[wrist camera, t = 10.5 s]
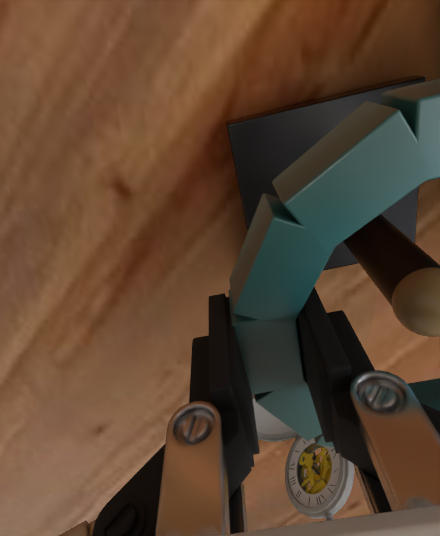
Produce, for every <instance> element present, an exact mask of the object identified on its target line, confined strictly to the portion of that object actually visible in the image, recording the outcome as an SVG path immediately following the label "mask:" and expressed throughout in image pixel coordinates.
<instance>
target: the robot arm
mask: <svg viewBox="0 0 440 536" xmlns="http://www.w3.org/2000/svg"><path fill="white" fill-rule="evenodd" d="M296 323H297V330H298V337H299V344H300V351H301V358H302V365H303V369H304V372H305V376H306V379H307V382H308V387H309V391H310V394H311V397H312V401H313V404H314V407H315V411H316V414H317V417H318V420H319V424H320V427H321V430H322V434H323V437H324V440H325V442H326V443H328V442H332V443H333V446H334V449H335V452H336V453H340V454H341V456H342V457H343V458H345V459H346V460H348V461H350V462H351V463H353V464H354V467H355V471H356V474H357V476H358V479H359V482H360V485H361V487H362V490H363V493H364V496H365V499H366V501H367V504H368V507H369V510H370V513H371V515H364V516H356V517H349V518H342V519H335V520H328V521H320V522H313V523H306V524H299V525H292V526H285V527H278V528H270V529H263V530H256V531H249V532H248V531H247V519H246V507H245V495H244V485H243V481H244V479H245V478H246V477H247V475H248V474H249V473H250V471H251V467H253V466H254V459H253V454H259V444H258V436H257V429H256V421H255V414H254V406H253V398H252V393H251V389H250V386H249V382H248V378H247V374H246V370H245V366H244V363H243V359H242V355H241V351H240V347H239V343H238V340H237V336H236V332H235V328H234V327H232V324H231V312H230V301H229V297H226V296H225V293H224V294H219V295H214V296H209V336H204V337H198V338H194V339H193V343H192V361H191V379H190V398H189V403H188V404H186V405H184V406H182V407H181V408H179V409H178V410H177V411H176V412H175V413H174V414H173V416H172V418H171V419H170V421H169V424H168V428H167V435H166V444H165V445H164V446H163V447H162V448H161V449H160V450H159V451H158V452H157V453H156V454H155V455H154V456H153V457H152V458H151V459H150V460H149V461H148V462H147V463H146V464H145V465H144V466H143V467H142V468H141V469H140V470H139V471H138V472H137V473H136V474H135V475H134V476H133V477H132V478H131V479H130V480H129V482H128V483H127V484H126V485H125V486H124V487H123V488H122V489H121V490H120V491H119V492H118V493H117V494H116V495H115V496H114V497H113V498H112V499H111V500H110V501H109V502H108V503H107V504H106V505H105V507H104V508H103V509H102V511H101V512H100V514H99V516H98V518H97V519H96V520H94V521H93V522H91V523H88V522H87V521H84V522H82V523H81V524H79V525H77V526H75V527H74V528H72V529H70V530H68V531H66V532H65V533H63V534H61V535H59V536H440V411H438V410H436V409H434V408H431V407H429V406H427V405H424V404H422V403H420V402H419V401H418V400H417V398H416V396H415V395H414V393H413V391H412V390H411V388H410V387H409V386H408V385H407V383H406V382H405V381H404V380H402V379H401V378H399V377H398V376H396V375H394V374H391V373H389V372H385V371H379V370H378V371H375V369H374V367H373V365H372V364H371V362H370V360H369V358H368V356H367V354H366V352H365V350H364V349H363V347H362V345H361V343H360V341H359V339H358V337H357V335H356V334H355V332H354V330H353V328H352V326H351V324H350V322H349V321H348V319H347V317H346V315H345V313H344V312H343V311H342V310H340V311H335V312H330V313H326V311H325V309H324V307H323V304H322V302H321V300H320V298H319V296H318V294H317V291H316V289H315V287H313V289H312V291H311V293H310V295H309V297H308V299H307V300H306V302H305V304H304V306H303V308H302V310H301V312H300V314H298V317H297V319H296Z"/></svg>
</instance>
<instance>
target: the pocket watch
mask: <svg viewBox="0 0 440 536" xmlns="http://www.w3.org/2000/svg"><path fill="white" fill-rule="evenodd" d="M252 398H253V406H254V414H255V421H256V429H257V436H258V439H259V440H263V441H268V442H277V441H285V440H288V439H291V438H294V437H295V438H296V440H295V442H294V443H293V445H292V447H291V449H290V452H289V454H288V457H287V461H286V467H285V484H286V488H287V493H288V495H289V498H290V500H291V502H292V504H293V505H294V506H295V508H296V509H297V510H298V511H299V512H300V513H302V514H304V515H306V516H308V517H311V518H316V519H319V518H326V519H327V521H328V520H333V516H332V515H333V514H335V513H336V512H337V511H339V510H340V509H341V508H342V506H343V505H344V504H345V502H346V500H347V498H348V496H349V494H350V491H351V488H352V485H353V478H354V465H353V463H351V462H350V461H348V460H346V459H345V458H343V457H342V456H341V454H340V453H336V452H335V449H334V448H333V447H327V446H321V445H317V444H316V443H315V440H314V438H313V439H311V440H309V441H307V440H305V439H304V438H303V437H301V436H300V435H299V434H297V433H296V432H295V431H293V430H292V429H291V428H289V427H288V426H287V425H285V424H284V423H283V422H281V421H280V420H279V419H277V418H276V417H275V416H273V415H272V414H271V413H269V412H268V411H267V410H266V409H264V408H263V407H262V406H260V405H259V404H258V403H256V402H255V396H254V394H253V395H252ZM323 447H324V449H322V448H323ZM318 448H321V450H322V452H321V453H319V454H318V455H316V456H315V450H316V449H318ZM325 450H326V451H327V453H326V455H325V454H324V452H325ZM313 452H314V453H313ZM328 452H329V454H330V455H328V456H327V454H328ZM319 456H322V457H323V459H322V461H321V463H320V461H319V460H320V457H319ZM318 462H319V463H320V465H319V467H318V465H317V463H318ZM305 469H308V471H307V472H308V474H307V473H306V475H307V476H306V477H305ZM308 480H309V481H310V482H309V481H308ZM307 481H308V483H310V484H311V485H313V486H311V485H310V486H311V487H312V488H311V489H310V490H309V487H310V486H309V487H308V485H309V484H308V483H306V482H307Z"/></svg>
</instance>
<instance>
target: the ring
mask: <svg viewBox="0 0 440 536" xmlns="http://www.w3.org/2000/svg"><path fill="white" fill-rule="evenodd" d="M436 178H440V78H439V79H435V80H431V81H426V82H422V83H418V84H414V85H410V86H405V87H401V88H397V89H393V90H389V91H385V92H383V93H382V105H380V104H376V103H373V102H369V101H365V102H364V103H363V104H362V105H360V106H359V107H358V108H357V109H356V110H355V111H353V112H352V113H351V114H350V115H349V116H348V117H346V118H345V119H344V120H343V121H342V122H340V123H339V124H338V125H337V126H336V127H335V128H333V129H332V130H331V131H330V132H329V133H328V134H326V135H325V136H324V137H323V138H322V139H321V140H319V141H318V142H317V143H316V144H315V145H314V146H312V147H311V148H310V149H309V150H308V151H307V152H305V153H304V154H303V155H302V156H301V157H300V158H298V159H297V160H296V161H295V162H294V163H293V164H291V165H290V166H289V167H288V168H287V169H286V170H284V171H283V172H282V173H281V174H280V175H279V176H277V177H276V178H275V179H274V180H273V181H272V184H273V186H274V188H275V190H276V192H277V194H278V196H279V197H280V198H278V197H275V196H272V195H268V194H263V195H262V197H261V199H260V202H259V205H258V207H257V210H256V212H255V215H254V217H253V220H252V223H251V225H250V228H249V230H248V233H247V235H246V238H245V241H244V243H243V246H242V248H241V251H240V254H239V256H238V259H237V261H236V264H235V266H234V269H233V272H232V274H231V277H230V290H229V301H230V312H231V324H232V327H234V328H235V332H236V336H237V340H238V343H239V347H240V351H241V355H242V359H243V363H244V366H245V370H246V374H247V378H248V382H249V386H250V389H251V393H252V394H254V396H255V402H256V403H258V404H259V405H260V406H262V407H263V408H264V409H266V410H267V411H268V412H269V413H271V414H272V415H273V416H275V417H276V418H277V419H279V420H280V421H281V422H283V423H284V424H285V425H287V426H288V427H289V428H291V429H292V430H293V431H295V432H296V433H297V434H299V435H300V436H301V437H303V438H304V439H305V440H307V441H309V440H311V439H313V438H314V440H315V443H316V444H317V445H321V446H327V447H333V448H334V446H333V443H332V442H328V443H326V442H325V440H324V437H323V434H322V430H321V427H320V424H319V420H318V417H317V414H316V411H315V407H314V404H313V401H312V397H311V394H310V391H309V387H308V382H307V379H306V376H305V372H304V369H303V365H302V358H301V351H300V344H299V337H298V330H297V323H296V319H297V317H298V314H300V312H301V310H302V308H303V306H304V304H305V302H306V300H307V299H308V297H309V295H310V293H311V291H312V289H313V287H314V285H315V284H316V282H317V280H318V278H319V276H320V274H321V272H322V271H323V269H324V267H325V265H326V263H327V261H328V259H329V257H330V256H331V254H332V252H333V250H334V248H335V246H337V245H338V244H339V243H341V242H342V241H344V240H345V239H346V238H348V237H349V236H350V235H352V234H353V233H355V232H356V231H357V230H359V229H360V228H362V227H363V226H364V225H366V224H367V223H368V222H370V221H371V220H373V219H374V218H375V217H377V216H378V215H379V214H381V213H382V212H384V211H385V210H386V209H388V208H389V207H390V206H392V205H393V204H395V203H396V202H397V201H399V200H400V199H402V198H403V197H404V196H406V195H407V194H408V193H410V192H411V191H413V190H414V189H415V188H417V187H418V186H419V185H421V184H422V183H424V182H425V181H427V180H432V179H436ZM407 385H408V386H409V387H410V388H411V390H412V391H413V393H414V395H415V396H416V398H417V400H418V401H419V402H420V403H422V404H424V405H427V406H429V407H431V408H434V409H436V410H438V411H440V378H439V379H433V380H427V381H421V382H415V383H409V384H407Z"/></svg>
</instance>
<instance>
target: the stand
mask: <svg viewBox="0 0 440 536" xmlns="http://www.w3.org/2000/svg"><path fill="white" fill-rule="evenodd" d="M422 82H425V77H421V76H411V77H407V78H403V79H398V80H394V81H390V82H386V83H382V84H378V85H374V86H370V87H366V88H361V89H357V90H353V91H349V92H345V93H341V94H337V95H333V96H329V97H325V98H320V99H316V100H312V101H308V102H304V103H300V104H296V105H292V106H288V107H283V108H279V109H275V110H271V111H267V112H263V113H259V114H255V115H251V116H246V117H242V118H238V119H234V120H230V121H227V122H226V125H227V130H228V135H229V140H230V145H231V150H232V155H233V160H234V165H235V170H236V175H237V180H238V185H239V190H240V195H241V200H242V205H243V210H244V215H245V220H246V225H247V230H249V228H250V225H251V223H252V220H253V217H254V215H255V212H256V210H257V207H258V205H259V202H260V199H261V197H262V195H263V194H268V195H272V196H275V197H278V198H280V197H279V196H278V194H277V192H276V190H275V188H274V186H273V184H272V181H273V180H274V179H275V178H276V177H277V176H279V175H280V174H281V173H282V172H283V171H284V170H286V169H287V168H288V167H289V166H290V165H291V164H293V163H294V162H295V161H296V160H297V159H298V158H300V157H301V156H302V155H303V154H304V153H305V152H307V151H308V150H309V149H310V148H311V147H312V146H314V145H315V144H316V143H317V142H318V141H319V140H321V139H322V138H323V137H324V136H325V135H326V134H328V133H329V132H330V131H331V130H332V129H333V128H335V127H336V126H337V125H338V124H339V123H340V122H342V121H343V120H344V119H345V118H346V117H348V116H349V115H350V114H351V113H352V112H353V111H355V110H356V109H357V108H358V107H359V106H360V105H362V104H363V103H364V102H365V101H369V102H373V103H376V104H380V105H382V93H383V92H385V91H389V90H393V89H397V88H401V87H405V86H410V85H414V84H418V83H422ZM417 201H418V187H417V188H415V189H414V190H413V191H411V192H410V193H408V194H407V195H406V196H404V197H403V198H402V199H400V200H399V201H397V202H396V203H395V204H393V205H392V206H390V207H389V208H388V209H386V210H385V211H384V212H382V213H381V214H379V215H378V216H377V217H375V218H374V219H373V220H371V221H370V222H368V223H367V224H366V225H364V226H363V227H362V228H360V229H359V230H357V231H356V232H355V233H353V234H352V235H350V236H349V237H348V238H346V239H345V240H344V241H342V242H341V243H339V244H338V245H337V246H335V248H334V250H333V252H332V254H331V256H330V257H329V259H328V261H327V263H326V265H325V267H324V269H323V270H328V269H333V268H338V267H343V266H347V265H352V264H357V263H359V264H360V265H361V266H362V267H363V269H364V270H365V271H366V273H367V274H368V275H369V277H370V278H371V279H372V281H373V282H374V283H375V285H376V286H377V287H378V289H379V290H380V291H381V292H382V294H383V295H384V296H385V298H386V299H387V300H388V302H389V303H390V304H391V306H392V308H393V311H394V313H395V315H396V317H397V319H398V320H399V321H400V322H401V324H402V325H403V326H405V327H406V328H407V329H409V330H410V331H412V332H414V333H417V334H419V335H423V336H428V337H440V265H439V264H438V263H437V262H436V261H434V260H433V259H432V258H431V257H430V256H429V255H427V254H426V253H425V252H424V251H423V250H422V249H421V248H419V247H418V246H417V245H416V244H415V232H416V217H417Z"/></svg>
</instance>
